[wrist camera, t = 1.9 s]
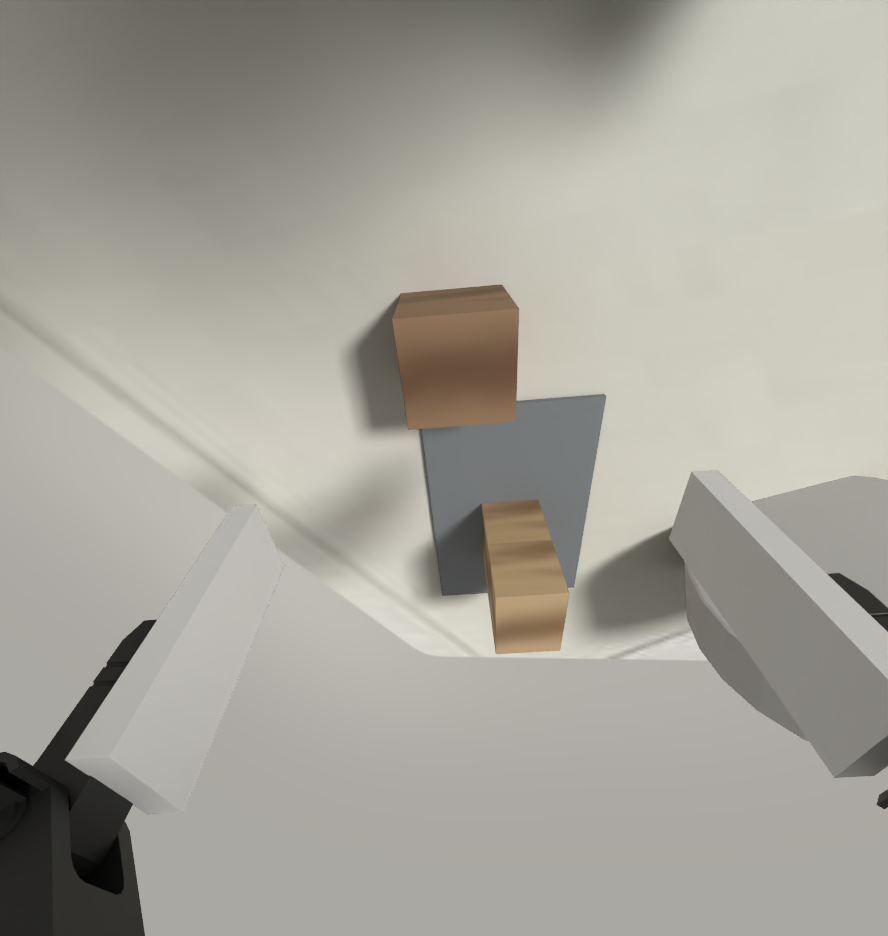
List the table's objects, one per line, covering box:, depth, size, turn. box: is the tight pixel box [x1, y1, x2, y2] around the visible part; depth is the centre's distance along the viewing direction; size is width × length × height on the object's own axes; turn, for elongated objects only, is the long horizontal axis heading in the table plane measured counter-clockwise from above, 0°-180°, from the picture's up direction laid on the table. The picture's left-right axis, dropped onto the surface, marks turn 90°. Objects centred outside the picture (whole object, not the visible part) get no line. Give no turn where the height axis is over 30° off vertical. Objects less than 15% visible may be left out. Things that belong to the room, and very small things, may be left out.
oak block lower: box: [482, 499, 552, 597], centre depth 35 cm, size 7×5×5 cm
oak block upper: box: [488, 540, 569, 654], centre depth 31 cm, size 7×5×5 cm
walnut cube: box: [392, 285, 519, 430], centre depth 25 cm, size 6×6×6 cm
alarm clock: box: [684, 476, 888, 769], centre depth 30 cm, size 21×8×20 cm, turn 110°
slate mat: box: [422, 394, 606, 596], centre depth 36 cm, size 22×14×1 cm, turn 4°
